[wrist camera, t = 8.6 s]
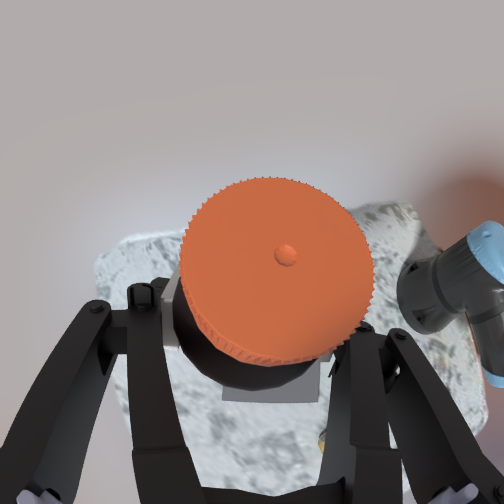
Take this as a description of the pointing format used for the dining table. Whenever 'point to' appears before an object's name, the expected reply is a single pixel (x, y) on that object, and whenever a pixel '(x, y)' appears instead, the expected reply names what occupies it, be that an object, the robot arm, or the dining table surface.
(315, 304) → the vinegar
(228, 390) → the mat
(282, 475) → the dining table surface
